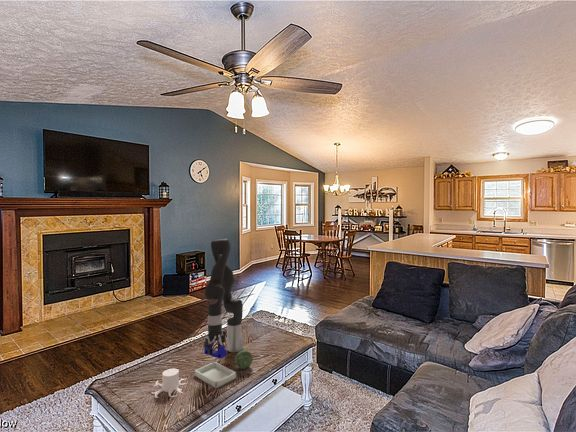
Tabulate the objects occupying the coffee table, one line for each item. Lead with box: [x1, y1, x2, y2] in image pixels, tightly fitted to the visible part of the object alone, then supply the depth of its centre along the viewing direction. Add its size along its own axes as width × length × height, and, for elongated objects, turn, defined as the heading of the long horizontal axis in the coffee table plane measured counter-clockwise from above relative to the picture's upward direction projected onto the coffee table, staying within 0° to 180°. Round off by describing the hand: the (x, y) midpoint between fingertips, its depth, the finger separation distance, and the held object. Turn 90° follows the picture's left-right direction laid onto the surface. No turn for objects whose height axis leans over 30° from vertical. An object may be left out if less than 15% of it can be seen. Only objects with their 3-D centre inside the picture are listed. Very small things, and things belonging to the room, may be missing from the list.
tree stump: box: [150, 367, 187, 399], centre depth 164 cm, size 20×19×8 cm
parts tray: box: [194, 361, 238, 389], centre depth 173 cm, size 14×20×3 cm
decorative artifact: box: [234, 349, 254, 370], centre depth 181 cm, size 10×7×10 cm
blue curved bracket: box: [203, 341, 228, 359], centre depth 173 cm, size 12×4×6 cm, turn 60°
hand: (215, 352), depth 173 cm, fingers closed on blue curved bracket, 5 cm apart
